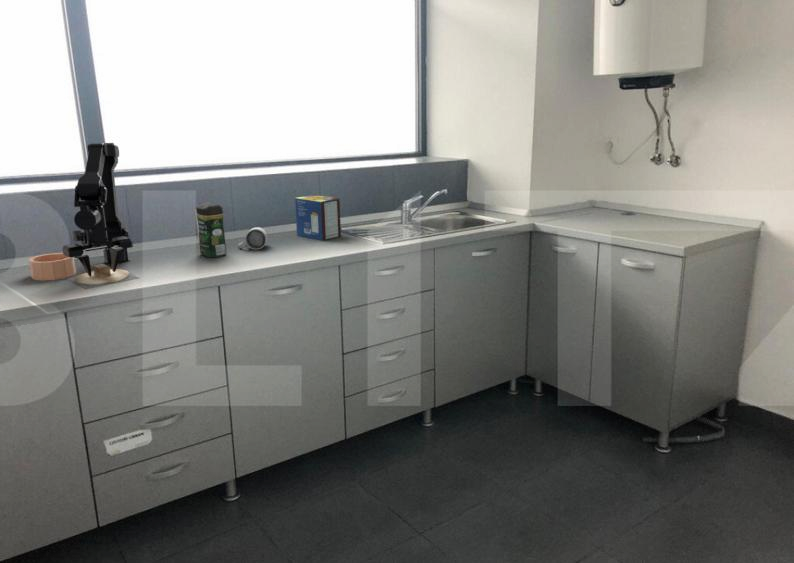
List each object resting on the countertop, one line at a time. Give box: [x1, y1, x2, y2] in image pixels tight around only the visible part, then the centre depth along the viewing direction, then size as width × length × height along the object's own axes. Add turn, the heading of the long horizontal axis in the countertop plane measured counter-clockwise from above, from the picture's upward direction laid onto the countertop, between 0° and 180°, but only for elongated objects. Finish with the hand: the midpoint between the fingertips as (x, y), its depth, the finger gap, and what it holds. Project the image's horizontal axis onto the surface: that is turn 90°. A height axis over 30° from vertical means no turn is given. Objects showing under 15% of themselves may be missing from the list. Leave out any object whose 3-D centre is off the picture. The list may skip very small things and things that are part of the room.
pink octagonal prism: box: [28, 252, 77, 282], centre depth 196 cm, size 12×12×6 cm
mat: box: [65, 272, 140, 290], centre depth 193 cm, size 16×16×1 cm
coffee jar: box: [195, 201, 227, 258], centre depth 221 cm, size 10×8×19 cm
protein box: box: [294, 194, 342, 241], centre depth 251 cm, size 10×15×16 cm
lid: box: [75, 263, 130, 285], centre depth 192 cm, size 15×15×4 cm
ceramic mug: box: [237, 226, 268, 251], centre depth 233 cm, size 11×8×8 cm
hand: (102, 273), depth 193 cm, fingers open, 7 cm apart
